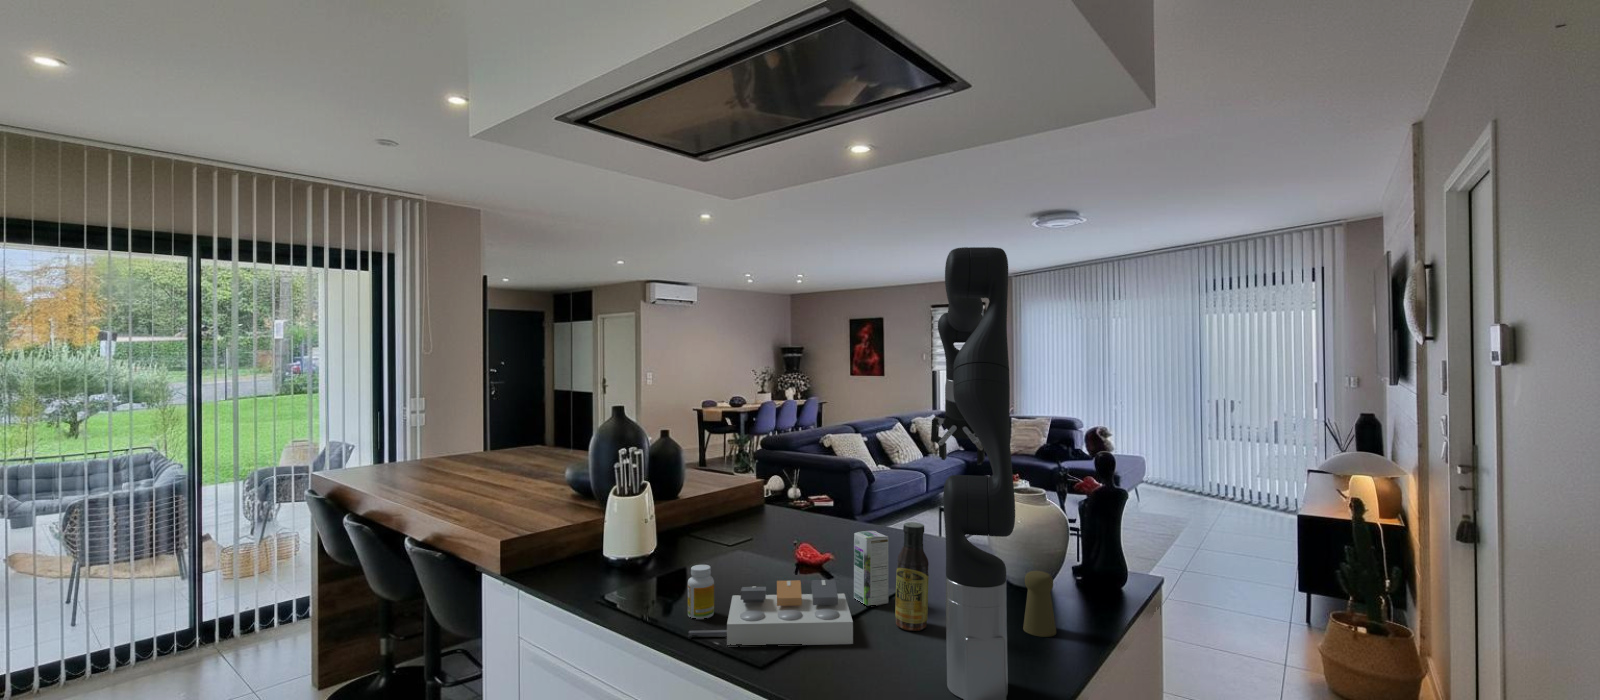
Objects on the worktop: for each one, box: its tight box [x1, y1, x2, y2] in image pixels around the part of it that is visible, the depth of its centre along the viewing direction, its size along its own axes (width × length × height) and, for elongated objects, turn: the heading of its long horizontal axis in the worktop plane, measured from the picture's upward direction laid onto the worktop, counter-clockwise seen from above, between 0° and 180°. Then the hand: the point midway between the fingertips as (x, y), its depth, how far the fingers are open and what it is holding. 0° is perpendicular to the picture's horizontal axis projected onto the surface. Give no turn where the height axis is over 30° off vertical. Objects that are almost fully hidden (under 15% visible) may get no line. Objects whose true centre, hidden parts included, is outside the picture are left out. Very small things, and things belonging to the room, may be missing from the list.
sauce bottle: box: [894, 521, 930, 632], centre depth 127 cm, size 6×6×20 cm
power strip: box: [688, 593, 854, 646], centre depth 126 cm, size 15×30×4 cm, turn 92°
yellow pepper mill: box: [1022, 570, 1057, 638], centre depth 125 cm, size 6×6×11 cm
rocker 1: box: [740, 585, 767, 603], centre depth 128 cm, size 6×5×3 cm
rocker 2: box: [776, 579, 803, 606], centre depth 128 cm, size 6×5×3 cm
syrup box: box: [853, 530, 889, 606], centre depth 141 cm, size 6×6×14 cm
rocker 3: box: [810, 579, 838, 605], centre depth 129 cm, size 6×5×3 cm
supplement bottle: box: [687, 564, 715, 620], centre depth 133 cm, size 5×5×10 cm
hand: (961, 461), depth 155 cm, fingers open, 8 cm apart
